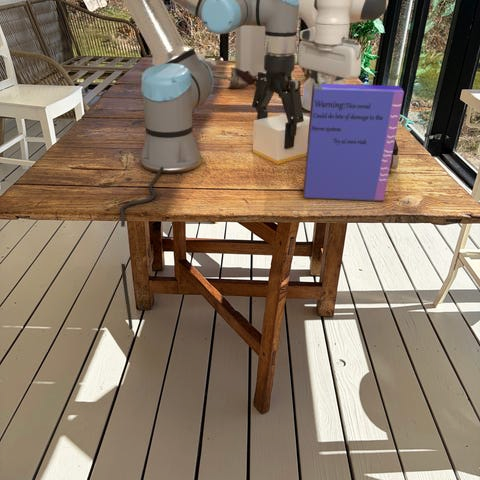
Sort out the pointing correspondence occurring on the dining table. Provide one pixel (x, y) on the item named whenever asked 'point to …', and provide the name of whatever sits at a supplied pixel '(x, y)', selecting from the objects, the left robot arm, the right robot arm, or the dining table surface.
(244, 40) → the white block
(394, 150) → the figurine character
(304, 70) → the anatomical model
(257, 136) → the cabinet
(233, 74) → the figurine
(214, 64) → the toy
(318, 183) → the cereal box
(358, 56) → the right robot arm
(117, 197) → the dining table surface
